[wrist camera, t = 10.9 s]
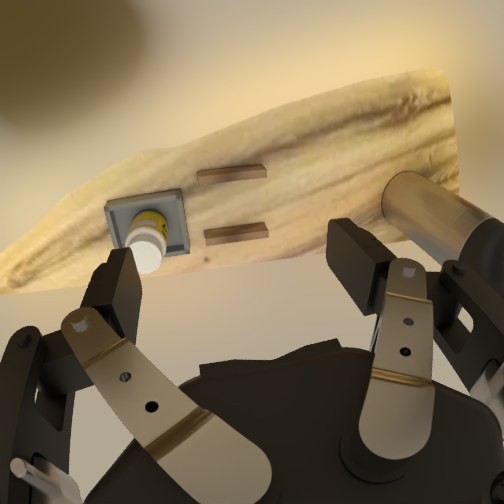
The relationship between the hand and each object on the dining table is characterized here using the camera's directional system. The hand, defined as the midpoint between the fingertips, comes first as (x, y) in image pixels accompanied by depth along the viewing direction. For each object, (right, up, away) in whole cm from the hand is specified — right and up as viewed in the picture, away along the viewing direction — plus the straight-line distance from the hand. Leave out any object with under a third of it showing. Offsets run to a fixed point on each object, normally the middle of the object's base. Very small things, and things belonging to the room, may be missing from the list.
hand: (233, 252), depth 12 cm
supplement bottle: (-12, +4, +25) cm, 28 cm away
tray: (-12, +4, +26) cm, 29 cm away
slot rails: (-2, +6, +27) cm, 27 cm away
